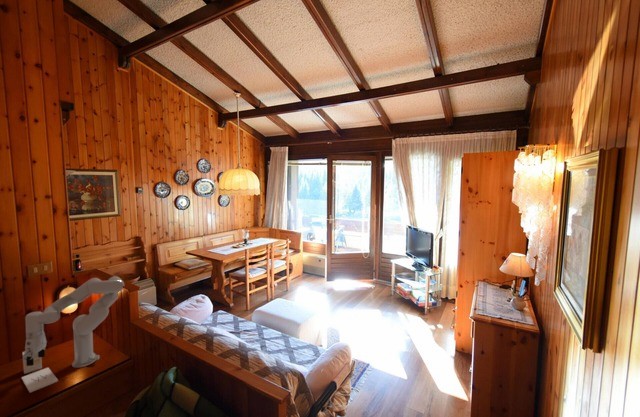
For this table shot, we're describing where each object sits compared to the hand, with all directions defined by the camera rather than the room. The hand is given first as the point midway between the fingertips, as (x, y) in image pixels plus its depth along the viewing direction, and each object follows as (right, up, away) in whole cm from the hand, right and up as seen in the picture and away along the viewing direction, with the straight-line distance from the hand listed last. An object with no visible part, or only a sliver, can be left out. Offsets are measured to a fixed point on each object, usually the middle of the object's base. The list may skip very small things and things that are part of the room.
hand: (36, 360), depth 175 cm
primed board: (+4, -11, -2) cm, 12 cm away
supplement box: (-9, -10, +7) cm, 16 cm away
